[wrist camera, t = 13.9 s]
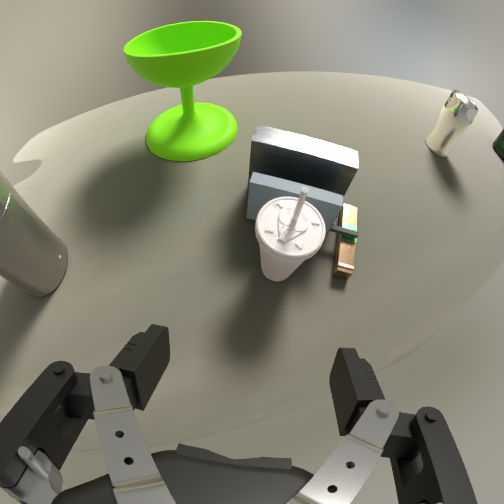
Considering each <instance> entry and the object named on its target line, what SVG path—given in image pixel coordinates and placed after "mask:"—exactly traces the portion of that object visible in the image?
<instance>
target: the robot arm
mask: <svg viewBox="0 0 504 504" xmlns="http://www.w3.org/2000/svg"><path fill="white" fill-rule="evenodd" d="M67 262H68V255H67V250H66V247H65V245H64V244H63V242H62V241H61V240H60V239H59V238H58V237H57V236H56V235H55V234H54V233H53V232H52V231H51V230H50V229H49V227H48V226H47V225H46V224H45V223H44V222H43V221H42V220H41V219H40V218H39V217H38V216H37V214H36V213H35V212H34V211H33V210H32V209H31V208H30V207H29V205H28V204H27V203H26V202H25V201H24V200H23V199H22V197H21V196H20V195H19V194H18V193H17V191H16V190H15V189H14V188H13V186H12V185H11V184H10V183H9V181H8V180H7V179H6V178H5V177H4V175H3V174H2V173H1V171H0V276H2V277H3V278H5V279H6V280H8V281H9V282H11V283H13V284H14V285H16V286H17V287H19V288H21V289H22V290H24V291H26V292H27V293H29V294H31V295H33V296H35V297H43V296H46V295H48V294H50V293H51V292H53V291H54V290H55V289H56V288H57V286H58V285H59V284H60V282H61V280H62V278H63V276H64V274H65V271H66V268H67ZM169 360H170V345H169V331H168V328H167V327H164V326H159V325H155V324H152V325H151V326H150V327H149V328H148V330H147V331H146V332H145V333H144V332H140V333H138V334H136V335H134V336H133V337H132V338H131V339H130V340H129V341H128V343H127V344H126V345H125V346H124V348H123V349H122V350H121V351H120V352H119V354H118V355H117V356H116V357H115V359H114V360H113V361H112V362H111V364H110V365H109V366H100V367H98V368H96V369H94V370H93V371H92V372H91V374H88V373H78V372H75V371H74V369H73V366H72V365H71V364H70V363H68V362H65V361H57V362H54V363H52V364H50V365H49V366H48V367H47V368H46V369H45V370H44V371H43V372H42V373H41V375H40V376H39V377H38V378H37V379H36V380H35V381H34V383H33V384H32V385H31V386H30V387H29V388H28V390H27V391H26V392H25V393H24V394H23V395H22V397H21V398H20V399H19V400H18V401H17V403H16V404H15V405H14V406H13V408H12V409H11V410H10V411H9V413H8V414H7V415H6V416H5V418H4V419H3V420H2V421H1V423H0V487H1V488H2V489H3V490H4V491H5V492H7V493H8V494H9V495H10V496H11V497H13V498H14V499H16V500H18V501H19V502H20V503H21V504H350V503H351V501H352V500H353V499H354V497H355V495H356V494H357V493H358V491H359V490H360V488H361V487H362V485H363V484H364V482H365V481H366V479H367V478H368V476H369V474H370V472H371V471H372V469H373V468H374V466H375V464H376V463H377V461H378V459H379V457H388V458H390V461H391V466H392V471H393V475H394V480H395V485H396V491H397V496H398V502H399V504H477V501H476V498H475V494H474V491H473V488H472V486H471V482H470V480H469V477H468V474H467V471H466V469H465V466H464V463H463V461H462V458H461V456H460V453H459V451H458V448H457V446H456V444H455V441H454V439H453V436H452V435H451V432H450V430H449V428H448V425H447V423H446V421H445V419H444V417H443V415H442V413H441V412H440V411H439V410H437V409H436V408H433V407H423V408H421V409H419V410H418V412H417V413H416V415H414V414H406V413H401V412H399V410H398V408H397V407H396V405H394V404H393V403H392V402H390V401H387V400H385V398H384V395H383V393H382V390H381V388H380V386H379V383H378V381H377V380H376V376H375V374H374V371H373V369H372V367H371V365H370V364H369V363H368V362H367V361H366V360H365V359H359V356H358V354H357V351H356V349H355V348H339V349H338V351H337V354H336V357H335V361H334V364H333V367H332V370H331V373H330V388H331V393H332V398H333V403H334V407H335V413H336V418H337V423H338V428H339V434H340V436H346V437H345V438H344V440H343V441H342V442H341V443H340V445H339V446H338V447H337V449H336V450H335V451H334V453H333V454H332V455H331V456H330V458H329V459H328V460H327V461H326V462H325V464H324V465H323V466H322V467H321V468H320V469H319V471H318V472H317V473H316V474H315V475H313V474H311V473H310V472H308V471H306V470H304V469H301V468H298V467H295V466H292V465H291V458H271V457H259V458H249V459H230V458H227V457H225V456H222V455H219V454H216V453H214V452H211V451H209V450H206V449H202V448H197V447H192V446H187V445H183V444H178V447H177V450H166V451H160V452H156V453H152V454H150V452H149V449H148V447H147V444H146V442H145V440H144V437H143V435H142V432H141V430H140V427H139V424H138V422H137V419H136V416H135V414H134V409H135V408H136V409H140V410H143V411H144V409H145V407H146V405H147V403H148V401H149V399H150V397H151V396H152V394H153V392H154V390H155V388H156V386H157V384H158V382H159V380H160V379H161V377H162V375H163V373H164V371H165V369H166V367H167V366H168V363H169ZM59 406H60V407H59ZM58 407H59V408H58ZM57 409H58V410H57ZM56 410H57V411H56ZM54 413H55V414H54ZM88 419H94V420H95V424H96V428H97V433H98V437H99V441H100V445H101V449H102V452H103V456H104V459H105V462H106V466H107V469H108V472H109V473H108V474H106V475H104V476H101V477H99V478H97V479H94V480H91V481H89V482H86V483H84V484H81V485H78V486H76V487H73V488H70V489H67V490H65V491H62V492H61V490H62V483H63V478H62V475H61V473H60V471H59V470H60V469H61V467H62V465H63V463H64V461H65V459H66V458H67V456H68V454H69V452H70V450H71V449H72V447H73V445H74V443H75V441H76V440H77V438H78V436H79V434H80V433H81V431H82V429H83V427H84V426H85V424H86V422H87V420H88Z"/></svg>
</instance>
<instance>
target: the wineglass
mask: <svg viewBox="0 0 504 504" xmlns="http://www.w3.org/2000/svg"><path fill="white" fill-rule="evenodd" d="M241 35H242V34H241V30H240V29H239V28H238V27H236V26H233V25H231V24H227V23H222V22H214V21H192V22H182V23H176V24H171V25H166V26H162V27H159V28H155V29H153V30H150V31H147V32H145V33H143V34H140V35H139V36H136V37H135V38H133V39H132V40H130V41H129V42H128V43H127V44H126V45H125V46H124V54H125V56H126V59H127V62H128V63H129V64H130V66H131V67H132V68H133V69H134V70H135V72H136V73H137V74H138V75H139V76H140V77H142V78H144V79H146V80H147V81H149V82H151V83H153V84H156V85H161V86H166V87H172V88H179V87H180V91H181V99H182V105H179V106H176V107H173V108H171V109H169V110H167V111H165V112H164V113H162V114H161V115H159V116H158V117H157V118H156V119H155V120H154V121H153V122H152V124H151V125H150V126H149V128H148V131H147V135H146V143H147V146H148V147H149V149H150V151H151V152H153V153H154V154H155V155H157V156H158V157H161V158H164V159H166V160H172V161H179V162H181V161H195V160H199V159H203V158H207V157H210V156H212V155H214V154H217V153H219V152H220V151H222V150H223V149H225V148H226V147H228V146H229V145H230V144H231V143H232V141H233V140H234V139H235V137H236V134H237V132H238V129H237V122H236V120H235V118H234V116H233V115H232V114H231V113H230V112H228V111H227V110H226V109H224V108H222V107H220V106H217V105H214V104H210V103H200V102H199V103H194V97H193V85H196V84H199V83H202V82H204V81H206V80H208V79H210V78H212V77H213V76H215V75H217V74H218V73H219V72H221V70H223V69H224V68H225V67H226V66H227V65H228V64H229V62H230V61H231V60H232V59H233V57H234V55H235V53H236V51H237V50H238V48H239V44H240V40H241Z"/></svg>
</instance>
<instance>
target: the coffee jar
mask: <svg viewBox="0 0 504 504" xmlns="http://www.w3.org/2000/svg"><path fill="white" fill-rule="evenodd" d="M493 147H494V148H495V150H496V152H497V154H498V155H499V156H500V157H502V158H503V159H504V129H503V130H502V132H501V133H500V135H499V136H498V137H497V138H496V140H495V141H494V142H493Z"/></svg>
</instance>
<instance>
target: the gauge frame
mask: <svg viewBox="0 0 504 504" xmlns="http://www.w3.org/2000/svg"><path fill="white" fill-rule="evenodd" d="M357 170H358V151H355V150H352V149H349V148H346V147H343V146H339V145H336V144H333V143H329V142H326V141H322V140H319V139H315V138H312V137H308V136H304V135H300V134H296V133H292V132H288V131H284V130H279V129H275V128H270V127H266V126H261V125H258V126H257V129H256V131H255V134H254V136H253V138H252V142H251V154H250V167H249V179H248V192H247V195H249V183H250V179H251V177H252V174H253V172H256V173H260V174H264V175H269V176H273V177H277V178H281V179H285V180H289V181H293V182H297V183H300V184H304V185H308V186H312V187H315V188H319V189H322V190H326V191H329V192H333V193H336V194H339V195H343V197H344V195H345V193H346V191H347V189H348V187H349V185H350V183H351V182H352V180H353V178H354V176H355V174H356V172H357ZM356 225H357V207H354V206H351V205H348V204H343V206H342V208H341V210H340V214H339V225H338V226H340V227H343V228H347V229H350V230H354V231H357V226H356ZM355 243H356V238H353V237H350V236H347V235H343V234H340V233H338V234H337V244H336V252H335V260H334V268H333V275H332V276H336V277H340V278H344V279H348V278H349V277H350V276H351V275H352V274H353V269H354V255H355Z"/></svg>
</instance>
